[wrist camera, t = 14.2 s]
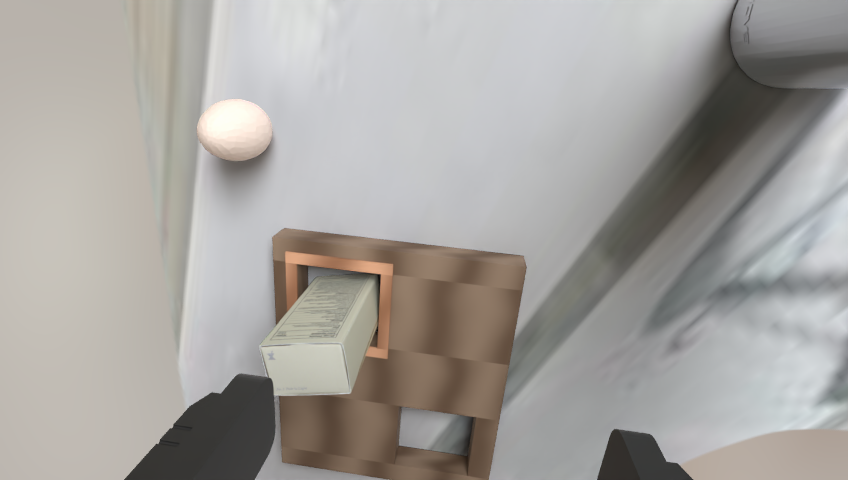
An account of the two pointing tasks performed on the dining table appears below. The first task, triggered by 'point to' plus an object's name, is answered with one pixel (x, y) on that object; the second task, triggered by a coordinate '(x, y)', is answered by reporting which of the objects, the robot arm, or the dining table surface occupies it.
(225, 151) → the egg
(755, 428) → the dining table surface
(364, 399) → the socket board
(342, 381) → the skincare box
